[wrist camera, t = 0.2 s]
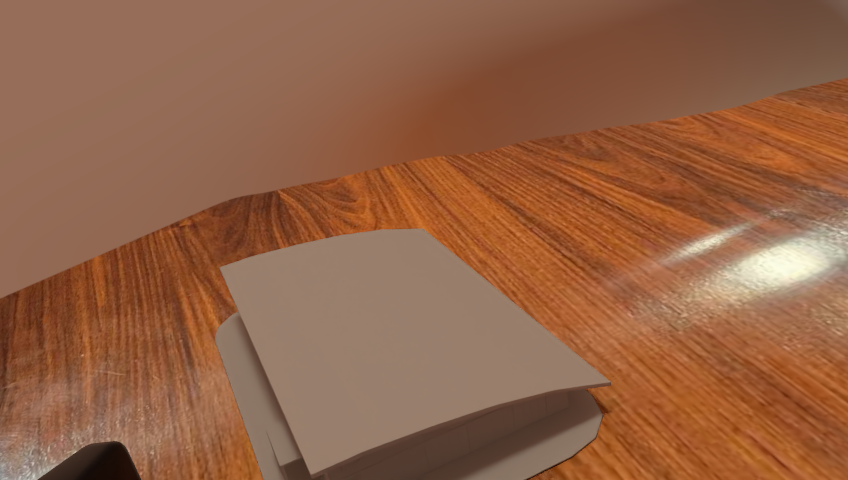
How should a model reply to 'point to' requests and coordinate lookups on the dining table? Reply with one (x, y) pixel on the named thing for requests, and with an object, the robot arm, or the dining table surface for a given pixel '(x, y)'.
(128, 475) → the robot arm
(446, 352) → the book
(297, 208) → the dining table surface
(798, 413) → the dining table surface
